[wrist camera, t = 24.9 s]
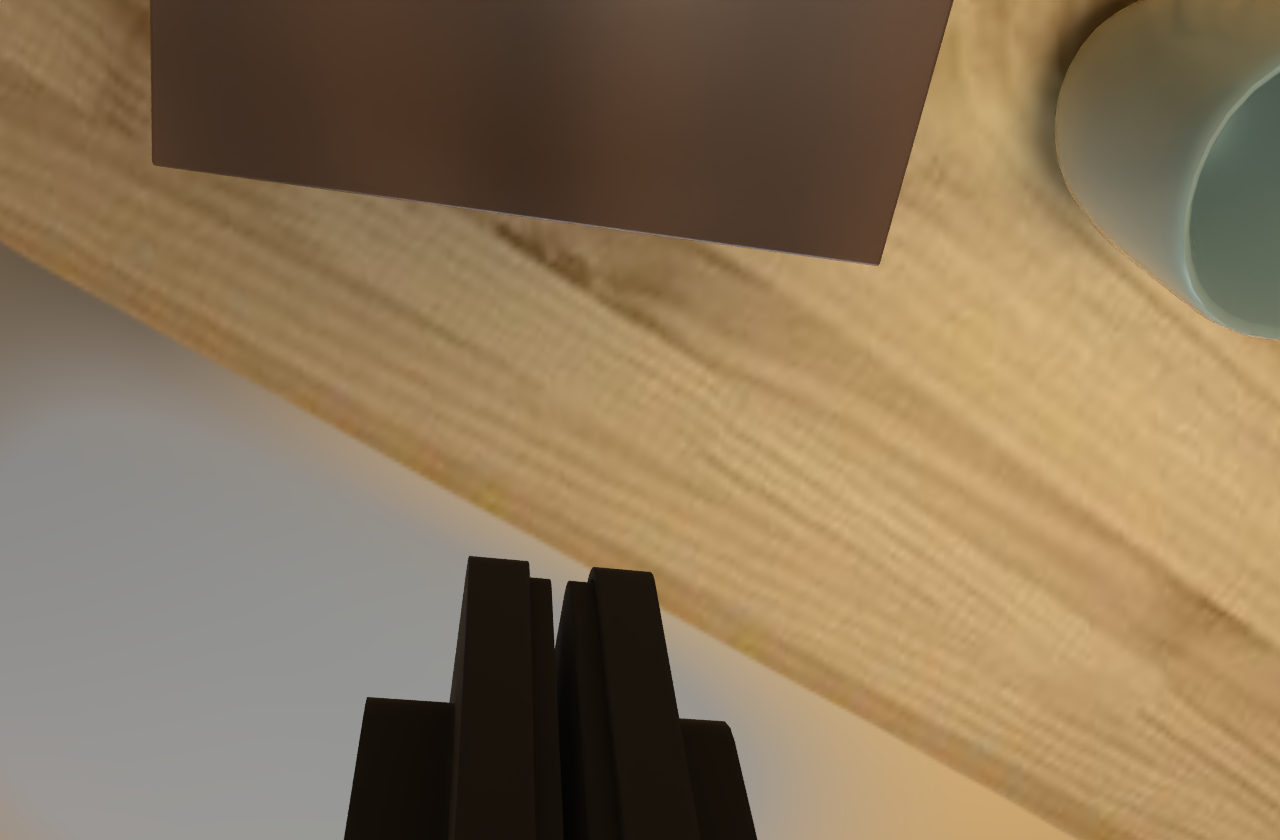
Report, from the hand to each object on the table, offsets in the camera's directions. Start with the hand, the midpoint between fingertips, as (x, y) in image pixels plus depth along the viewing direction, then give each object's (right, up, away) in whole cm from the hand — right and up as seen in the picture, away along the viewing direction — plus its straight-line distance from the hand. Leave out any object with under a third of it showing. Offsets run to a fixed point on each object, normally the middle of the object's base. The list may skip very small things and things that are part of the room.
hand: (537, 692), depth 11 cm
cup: (+16, +13, +26) cm, 33 cm away
